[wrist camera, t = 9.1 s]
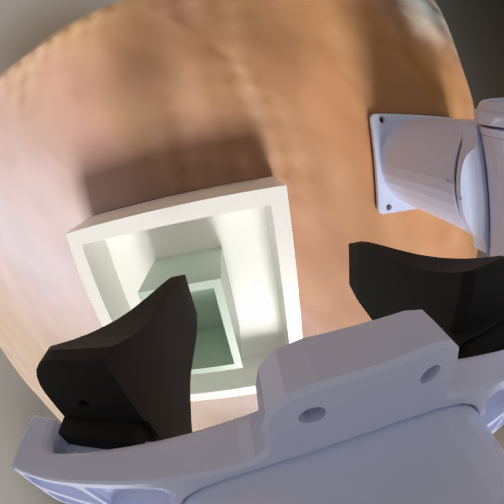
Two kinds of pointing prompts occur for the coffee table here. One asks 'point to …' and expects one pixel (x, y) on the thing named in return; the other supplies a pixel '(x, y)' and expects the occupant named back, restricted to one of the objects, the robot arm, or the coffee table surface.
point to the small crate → (204, 306)
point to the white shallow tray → (196, 239)
